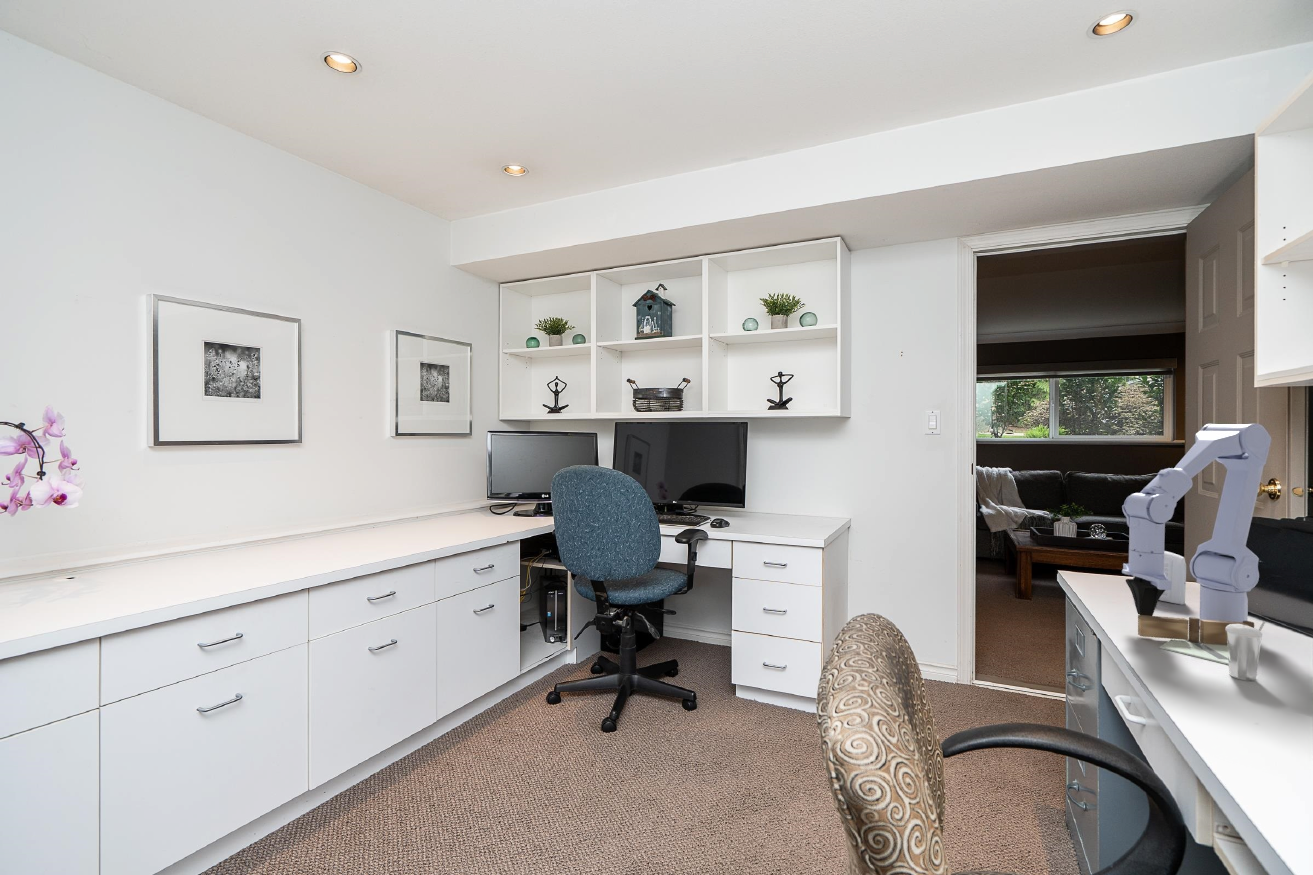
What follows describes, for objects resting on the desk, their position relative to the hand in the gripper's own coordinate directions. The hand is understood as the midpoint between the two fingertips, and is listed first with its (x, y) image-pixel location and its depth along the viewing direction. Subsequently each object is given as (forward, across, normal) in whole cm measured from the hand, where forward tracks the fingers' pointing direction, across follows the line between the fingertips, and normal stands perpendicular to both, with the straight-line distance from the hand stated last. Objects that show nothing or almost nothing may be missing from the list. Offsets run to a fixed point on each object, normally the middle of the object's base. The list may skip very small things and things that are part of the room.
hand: (1144, 615), depth 125 cm
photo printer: (+4, -30, +16) cm, 34 cm away
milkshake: (+4, +21, +5) cm, 22 cm away
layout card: (+4, +6, +8) cm, 11 cm away
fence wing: (+3, +4, +1) cm, 5 cm away
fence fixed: (+4, +4, +11) cm, 12 cm away
